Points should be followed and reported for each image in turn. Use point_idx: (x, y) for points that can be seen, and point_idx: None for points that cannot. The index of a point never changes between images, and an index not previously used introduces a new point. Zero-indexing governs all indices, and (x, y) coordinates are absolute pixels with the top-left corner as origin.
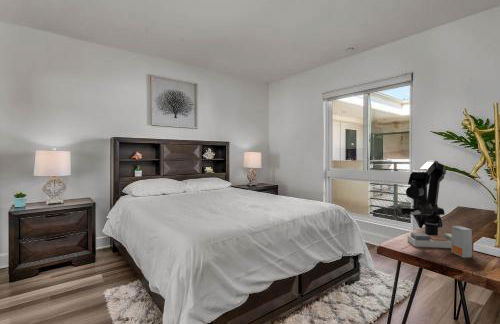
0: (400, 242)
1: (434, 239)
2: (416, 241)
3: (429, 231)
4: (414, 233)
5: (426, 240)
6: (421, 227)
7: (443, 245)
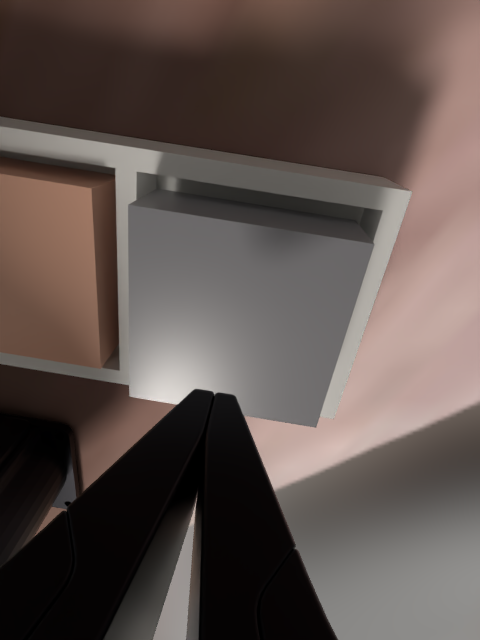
0: (446, 333)
1: (77, 184)
2: (378, 185)
3: (10, 489)
4: (300, 375)
5: (217, 176)
6: (200, 397)
7: (9, 119)
